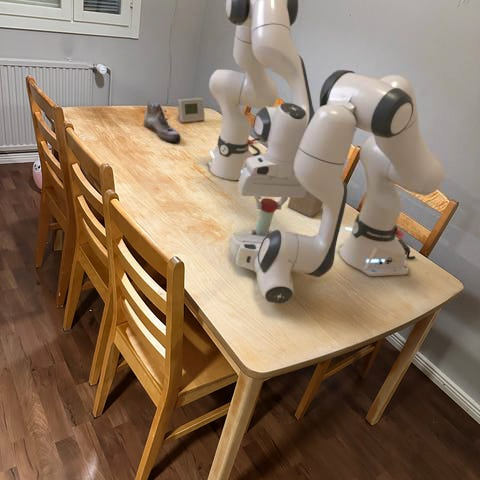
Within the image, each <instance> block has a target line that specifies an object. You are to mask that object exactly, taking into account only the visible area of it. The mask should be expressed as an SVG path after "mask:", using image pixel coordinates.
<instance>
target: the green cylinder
mask: <svg viewBox="0 0 480 480" xmlns="http://www.w3.org/2000/svg"><path fill="white" fill-rule="evenodd" d="M274 215H275V211H274V212H267V211H264V210H262V209H259V213H258V218H257V221H256V225H255V229H254V230H255V231H256V234H255V235H258V236H268V232H269V231H270V229H271V225H272V221H273V217H274Z"/></svg>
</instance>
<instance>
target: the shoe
mask: <svg viewBox="0 0 480 480" xmlns="http://www.w3.org/2000/svg"><path fill="white" fill-rule="evenodd" d="M164 112H165V113H166V112H167V110H166V109H163V108H162V107H161V104H160V103H155V101H153V103H150V101H147V106H146V109H145V112H144V116H143V124H144V125H143V126H144V127H146V128H149V130H152V131H154V132H155V133H156V134H157V136H158V138H159V139H160V140H162V141H166V142H168V143H172V144H173V143H174V144H178V143H180V142H181V134H180V133H179V132H178V131H177V130H176V129H175V128H173V127H172V126H170V125H169V122H168V118H167V117H166V116H165V113H164Z"/></svg>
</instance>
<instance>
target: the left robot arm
mask: <svg viewBox="0 0 480 480" xmlns="http://www.w3.org/2000/svg"><path fill="white" fill-rule="evenodd" d="M225 12H226V15H227V19H228V21H229V22H230V23H231V24H233V25H236V27H235V34H234V41H233V49H232V56H233V57H232V58H233V61H234V62H235V63H236V64H237V66H238V67H240V68H241V70H243V72H241V71H237V70H232V69H220V68H219V69H216V70H215V71H214V72H213V73H212V74H211V76H210V78H209V82H208V88H209V91H210V94H211V96H212V97H213V98H214V99H215V101H216V102H217V103H218V105H219V108H220V111H221V112H220V113H221V127H220V135H219V136H218V139H217V145H216V146H215V147H214V149H213V151H212V150H210V151H209V154H210V155H211V160H209V161H208V164H207V165H208V166H209V170H210V172H211V173H212V174H213V175H215V176H216V177H218V178H220V179H225V180H229V181H238V184H237V190H238V192H239V194H240V195H241V196H242V197H253V198H254V201H255V205H254V208H255V209H256V210H260V209H262V205H263V204H262V203H261V201H260V200H262V198H263V197H264V198H280V199H279V200H277V201H276V202H277V208H276V211H277V210H279V211H281V210H282V208H283V207H282V206H284V204H285V203H286V202H287V201H288V200H289V199H290V198H303V197H304V196H305V195H306V191H307V190H306V189H305V188H303V187H302V185H301V184H300V183H299V182H298V180H297V179H296V177H295V174H294V169H293V166H294V161H295V157H296V153H297V151H298V148H299V145H300V142H301V140H302V137H303V135H304V133H305V131H306V129H307V127H308V125H309V123H310V121H311V119H312V117H313V116H314V114H315V112H316V111H315V109H314V106H313V101H312V95H311V91H310V90H311V89H310V86H309V85H310V84H309V79H308V74H307V70H306V66H305V62H304V59H303V57H302V56H301V55H300V54H299V53H298V51H297V50H296V48H295V45H294V43H293V39H292V35H291V26H293V24H295V22H296V20H297V17H298V13H299V0H226V1H225ZM267 69H268V70H270V71H272V72H274V73H275V74H277V75H279V76H280V77H281V78H283V79H284V80H285V81H286V82H287V84H288V87H289V89H290V94H291V99H292V102H284V103H283V102H282V103H280V104H278V106H275V105H276V103H277V101H278V100H279V99H278V98H279V89H278V86H277V84H276V82H274V81H273V80H272V78H271V77H270V75H269V73H268V70H267ZM240 106H244V107H248V108H252V109H256V110H258V112H257V113H256V114H255V117H254V120H253V126H252V122H251V119H250V118H249V117H248V116H247V115H246V114H245V113H244V112H243V111H242V109H241V108H240ZM252 127H253V134H254V135H255V136H256V138H253V139H252V140H251V139H249V138H250V133H251V129H252ZM257 141H261V142H262V143H266V144H267V148H266V150H265V153H262V154H260V153H261V150H260V149H259V148H258V147H256V146H255V145H254V144H253V143H254V142H257ZM250 147H251V148H253V149H254V150H256V151H257V152H255V153H252V152H251V151H250Z"/></svg>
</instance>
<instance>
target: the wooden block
mask: <svg viewBox="0 0 480 480" xmlns="http://www.w3.org/2000/svg"><path fill="white" fill-rule="evenodd" d="M323 206H324V204H323V202H322V201H321V200H319V199H318V198H317V197H315V196H314V195H312V194H311V193H309V192H308V191H306V195H305V196H304V197H303V198H290V197H289V199H288V203H287V208H290V209H291V210H294V211H296V212H298V213H301V214H302V215H305V216H307V217H309V218H312V217H313V216H314V215H316V214H317V213H318V212H319V211H321V209H322V207H323Z"/></svg>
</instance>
